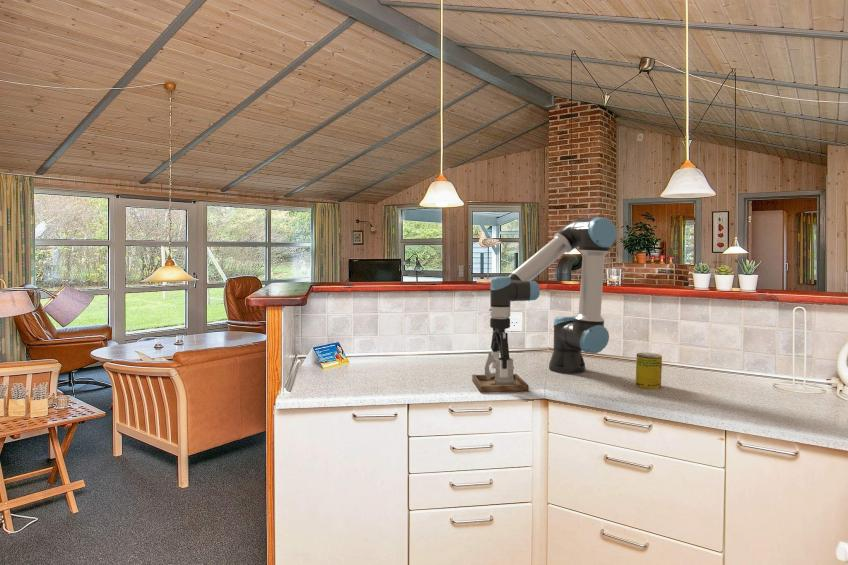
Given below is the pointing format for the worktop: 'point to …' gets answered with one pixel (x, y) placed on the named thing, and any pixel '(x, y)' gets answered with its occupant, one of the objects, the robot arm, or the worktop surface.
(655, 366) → the yellow tin can
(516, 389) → the tray
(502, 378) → the mug
